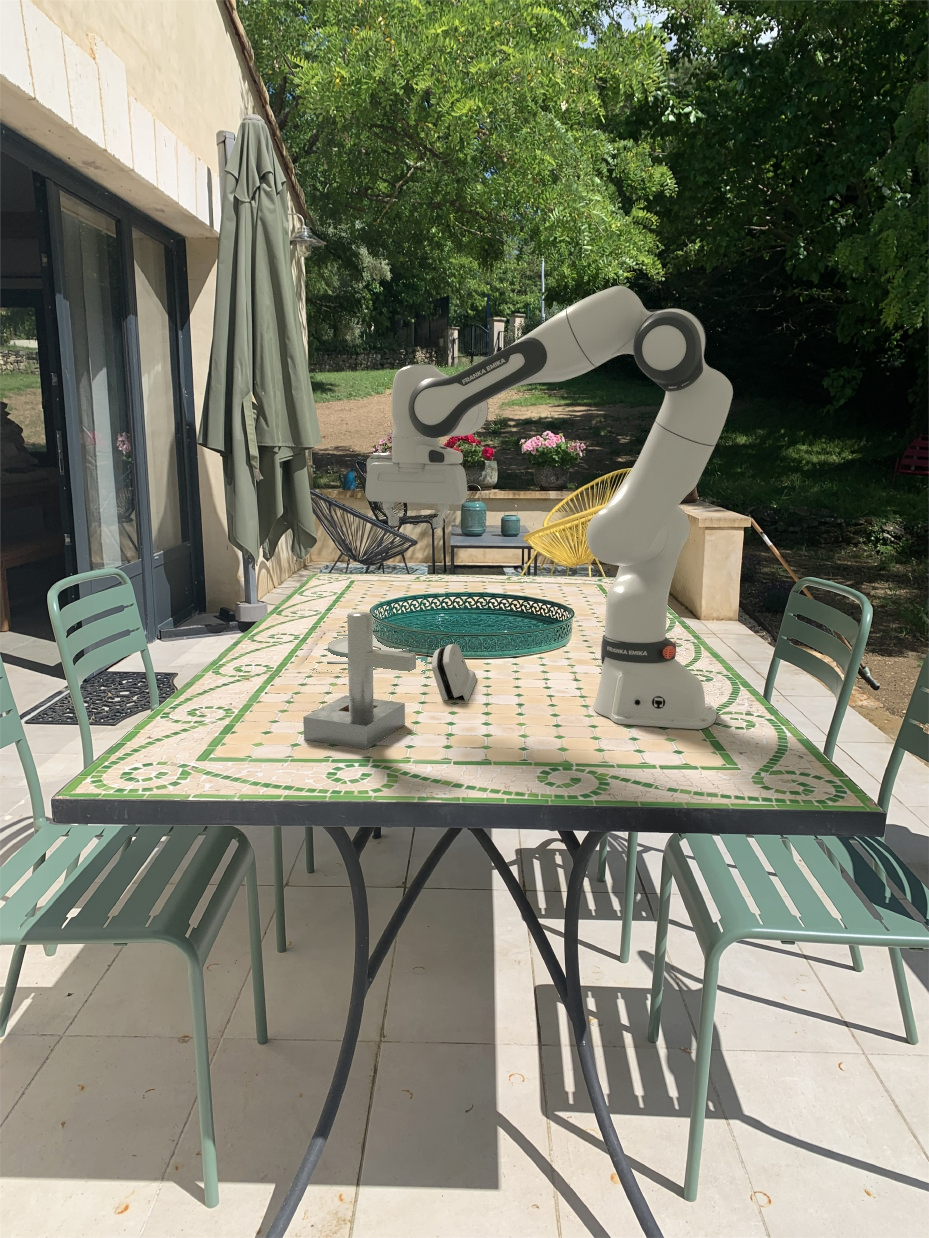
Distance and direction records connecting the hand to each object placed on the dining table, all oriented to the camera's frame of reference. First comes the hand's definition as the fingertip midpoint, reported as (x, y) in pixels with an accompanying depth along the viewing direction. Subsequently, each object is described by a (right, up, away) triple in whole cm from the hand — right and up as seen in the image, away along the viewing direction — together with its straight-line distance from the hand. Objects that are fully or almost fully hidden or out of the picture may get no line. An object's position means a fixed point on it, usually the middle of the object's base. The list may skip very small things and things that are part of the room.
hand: (415, 526), depth 173 cm
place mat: (-13, -26, +42) cm, 51 cm away
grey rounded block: (+7, -32, +10) cm, 34 cm away
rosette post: (-6, -38, -19) cm, 42 cm away
